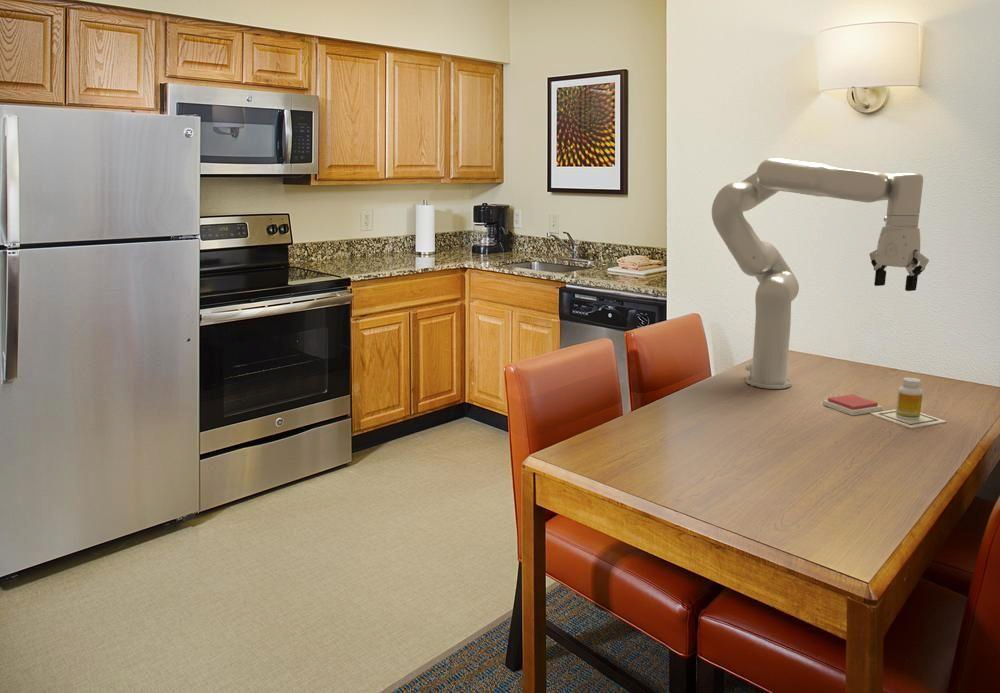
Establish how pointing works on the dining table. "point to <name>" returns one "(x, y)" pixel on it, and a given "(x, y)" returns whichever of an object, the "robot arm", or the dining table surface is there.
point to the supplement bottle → (909, 399)
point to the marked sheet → (922, 421)
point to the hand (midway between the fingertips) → (894, 288)
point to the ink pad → (852, 405)
